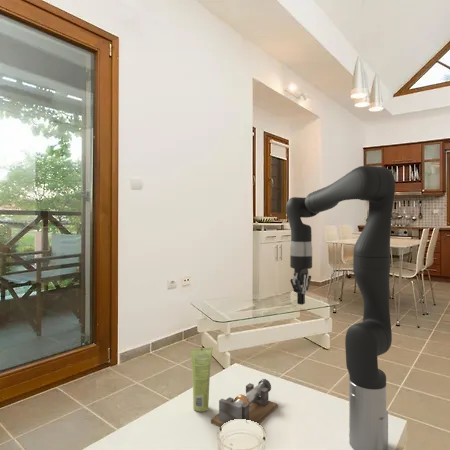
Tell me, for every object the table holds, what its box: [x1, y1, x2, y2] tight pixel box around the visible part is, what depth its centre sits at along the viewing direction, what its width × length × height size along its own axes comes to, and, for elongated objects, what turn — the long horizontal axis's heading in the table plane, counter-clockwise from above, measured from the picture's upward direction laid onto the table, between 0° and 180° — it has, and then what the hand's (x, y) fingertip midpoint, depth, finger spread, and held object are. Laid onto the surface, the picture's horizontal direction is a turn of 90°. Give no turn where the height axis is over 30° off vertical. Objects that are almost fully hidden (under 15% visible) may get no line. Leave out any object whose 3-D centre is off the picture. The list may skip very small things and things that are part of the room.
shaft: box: [233, 378, 272, 406], centre depth 113 cm, size 5×19×5 cm, turn 144°
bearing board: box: [210, 382, 278, 428], centre depth 111 cm, size 12×20×7 cm, turn 144°
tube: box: [189, 346, 214, 412], centre depth 115 cm, size 6×5×20 cm
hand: (301, 303), depth 123 cm, fingers closed
